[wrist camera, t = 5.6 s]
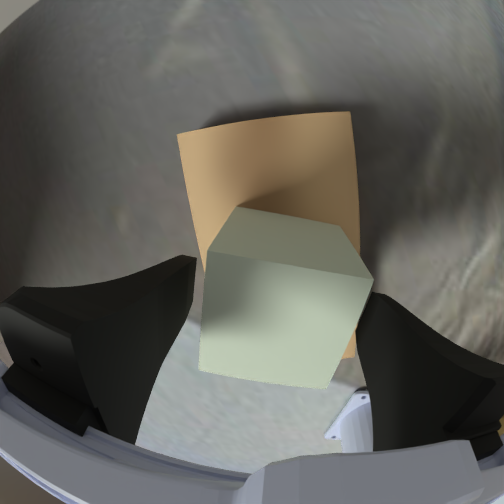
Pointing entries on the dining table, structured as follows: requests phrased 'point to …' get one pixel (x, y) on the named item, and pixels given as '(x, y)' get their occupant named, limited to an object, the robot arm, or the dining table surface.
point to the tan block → (274, 174)
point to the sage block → (280, 299)
